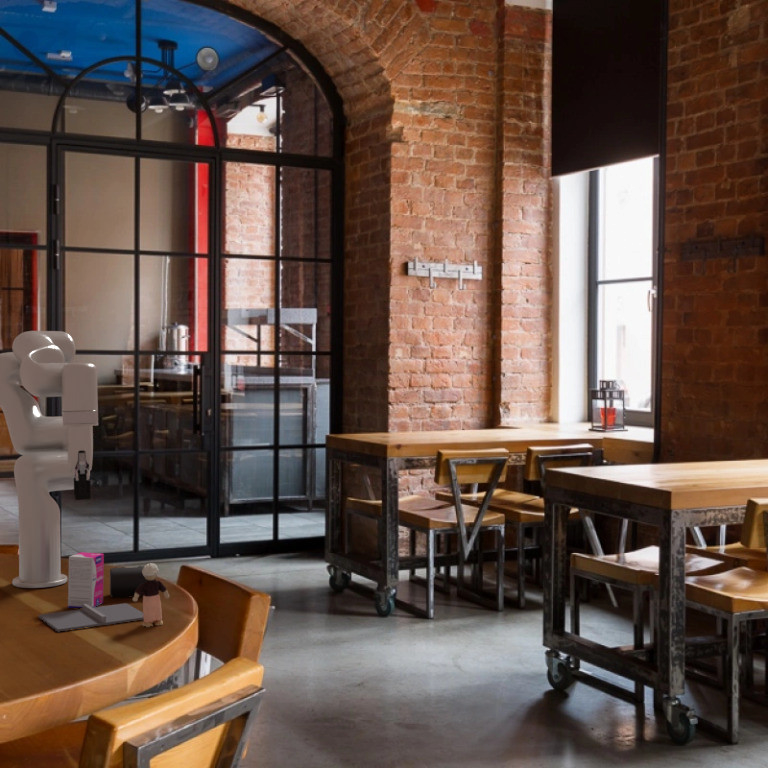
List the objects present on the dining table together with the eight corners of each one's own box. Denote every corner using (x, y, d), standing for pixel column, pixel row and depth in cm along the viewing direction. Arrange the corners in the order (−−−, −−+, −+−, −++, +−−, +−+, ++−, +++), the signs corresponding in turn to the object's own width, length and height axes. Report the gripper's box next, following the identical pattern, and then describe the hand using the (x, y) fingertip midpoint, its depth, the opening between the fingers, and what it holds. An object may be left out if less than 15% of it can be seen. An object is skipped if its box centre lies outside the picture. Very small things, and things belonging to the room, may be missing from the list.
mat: (38, 617, 223) (38, 609, 223) (126, 605, 233) (126, 597, 233) (58, 632, 211) (58, 623, 211) (149, 619, 221) (149, 610, 221)
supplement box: (92, 610, 229) (92, 557, 229) (67, 608, 231) (66, 556, 230) (104, 604, 235) (104, 552, 235) (80, 602, 236) (79, 551, 236)
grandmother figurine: (161, 620, 221) (161, 559, 221) (171, 623, 218) (171, 562, 218) (128, 626, 216) (128, 564, 215) (139, 630, 213) (138, 567, 212)
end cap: (110, 601, 238) (110, 571, 238) (109, 594, 245) (109, 565, 244) (156, 598, 241) (155, 568, 241) (153, 591, 248) (153, 562, 247)
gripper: (62, 419, 239) (63, 494, 239) (62, 420, 223) (64, 502, 223) (96, 418, 242) (98, 493, 241) (99, 419, 225) (101, 500, 225)
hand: (82, 497), depth 232 cm, fingers open, 9 cm apart
